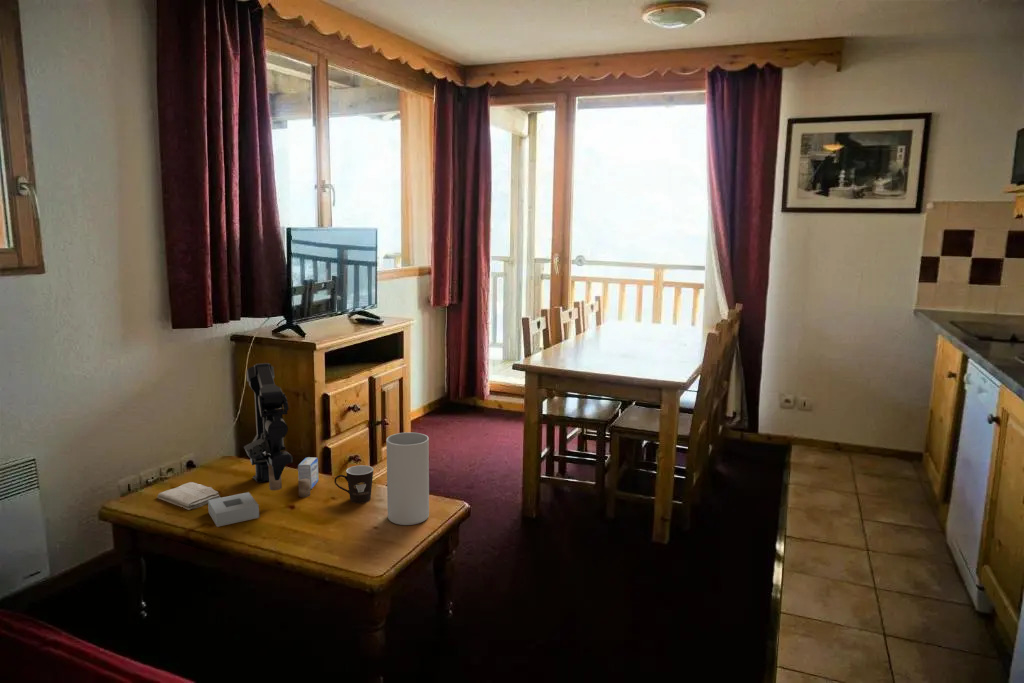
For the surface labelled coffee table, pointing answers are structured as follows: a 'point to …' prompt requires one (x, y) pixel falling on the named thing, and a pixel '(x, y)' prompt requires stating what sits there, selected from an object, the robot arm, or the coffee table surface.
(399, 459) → the cylinder vase
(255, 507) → the socket block
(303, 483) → the short dowel
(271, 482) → the long dowel
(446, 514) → the coffee table surface
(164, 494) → the washcloth
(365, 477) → the coffee mug
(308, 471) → the medicine box
